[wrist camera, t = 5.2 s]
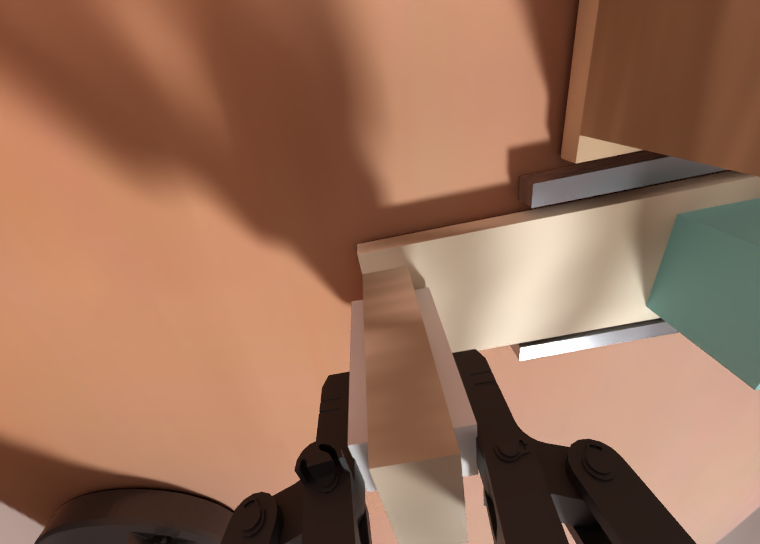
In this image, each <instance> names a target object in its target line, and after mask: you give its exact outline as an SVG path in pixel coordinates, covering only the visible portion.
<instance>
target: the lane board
mask: <svg viewBox="0 0 760 544" xmlns="http://www.w3.org/2000/svg"><path fill="white" fill-rule="evenodd" d="M723 170H728V169H724V168H720V167H715V166H711V165H707V164H702V163H698V162H694V161H689V160H685V159H681V158H676V157H672V156H668V155H663V154H659V153H655V152H650V151H642V152H637V153H632V154H627V155H622V156H617V157H612V158H607V159H602V160H597V161H592V162H587V163H582V164H577V165H572V166H567V167H562V168H557V169H552V170H547V171H542V172H537V173H532V174H527V175H522V176H519V191H518V199H519V200H520V201H522V202H523V203H525V204H526V205H527V206H529V207H530V208H535V207H540V206H545V205H551V204H556V203H561V202H566V201H571V200H576V199H581V198H586V197H591V196H596V195H601V194H606V193H611V192H616V191H622V190H627V189H632V188H637V187H642V186H647V185H652V184H657V183H662V182H667V181H672V180H677V179H682V178H688V177H693V176H698V175H703V174H708V173H713V172H718V171H723ZM678 332H679V331H677V330H676V329H675V328H673V327H672V326H671V325H669V324H668V323H667V322H665V321H664V320H663V319H662V318H656V319H651V320H645V321H640V322H634V323H629V324H623V325H617V326H612V327H606V328H601V329H595V330H590V331H584V332H579V333H573V334H568V335H562V336H557V337H551V338H545V339H540V340H534V341H529V342H523V343H518V344H512V345H510V346H511V347H512V349H513V351H514V352H515V354H516V356H517V357H518V359H519V361H521V360H527V359H532V358H538V357H544V356H549V355H555V354H560V353H566V352H572V351H577V350H583V349H588V348H594V347H600V346H605V345H611V344H616V343H622V342H628V341H633V340H639V339H645V338H650V337H656V336H661V335H667V334H673V333H678Z"/></svg>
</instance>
